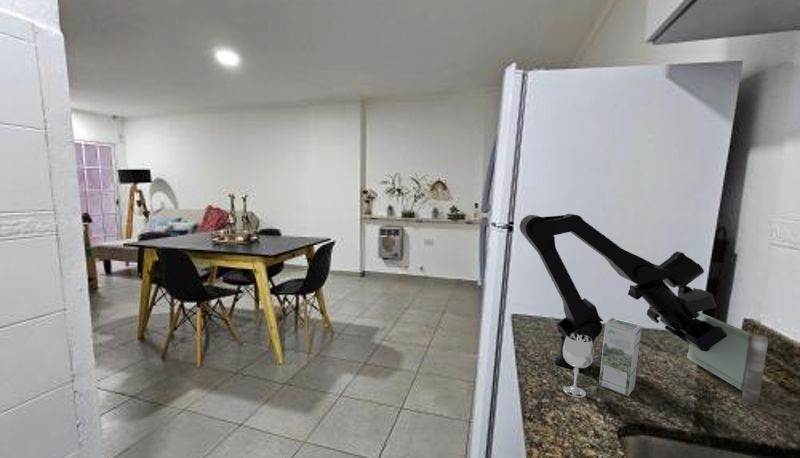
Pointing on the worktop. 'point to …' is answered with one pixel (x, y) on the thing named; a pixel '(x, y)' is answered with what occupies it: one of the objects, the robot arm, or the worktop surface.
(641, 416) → the worktop surface
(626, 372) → the syrup box
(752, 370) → the frame
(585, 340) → the wineglass
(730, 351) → the pale green flat block
